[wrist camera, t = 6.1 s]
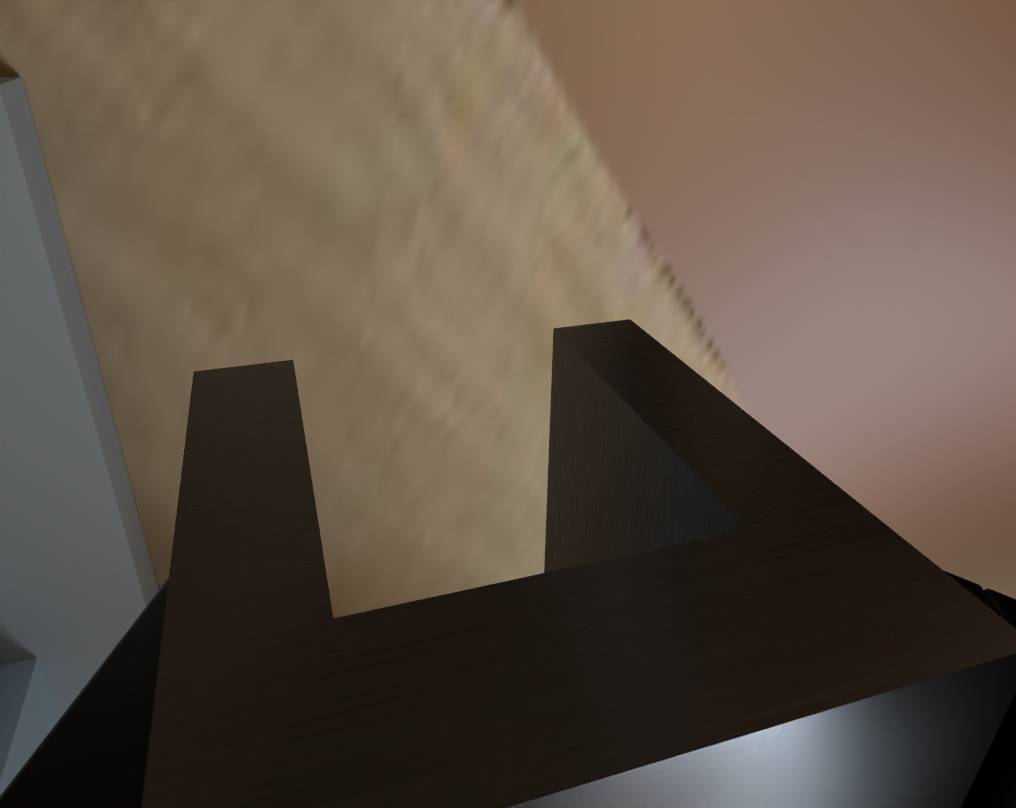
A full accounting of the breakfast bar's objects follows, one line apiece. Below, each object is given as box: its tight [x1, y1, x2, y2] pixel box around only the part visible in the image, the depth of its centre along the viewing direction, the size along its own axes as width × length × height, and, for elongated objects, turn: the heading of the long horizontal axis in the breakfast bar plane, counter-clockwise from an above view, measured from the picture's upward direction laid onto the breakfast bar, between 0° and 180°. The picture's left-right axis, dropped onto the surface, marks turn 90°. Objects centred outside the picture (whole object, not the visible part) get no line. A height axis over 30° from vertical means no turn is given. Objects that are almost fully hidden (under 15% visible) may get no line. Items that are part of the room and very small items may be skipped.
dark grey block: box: [141, 319, 1016, 808], centre depth 7 cm, size 5×4×6 cm
